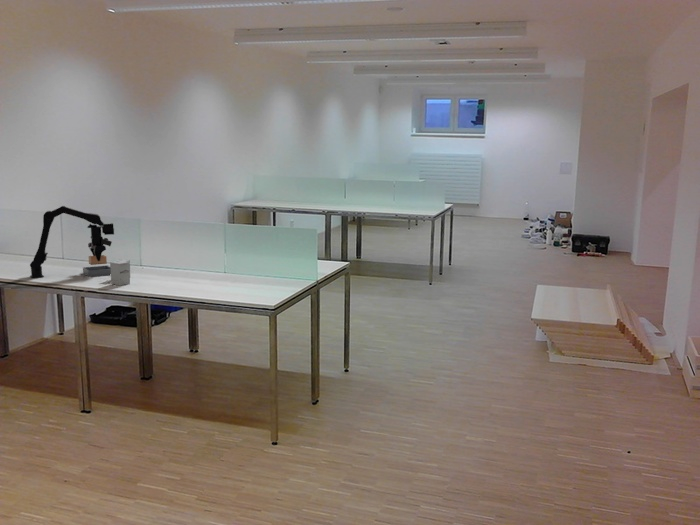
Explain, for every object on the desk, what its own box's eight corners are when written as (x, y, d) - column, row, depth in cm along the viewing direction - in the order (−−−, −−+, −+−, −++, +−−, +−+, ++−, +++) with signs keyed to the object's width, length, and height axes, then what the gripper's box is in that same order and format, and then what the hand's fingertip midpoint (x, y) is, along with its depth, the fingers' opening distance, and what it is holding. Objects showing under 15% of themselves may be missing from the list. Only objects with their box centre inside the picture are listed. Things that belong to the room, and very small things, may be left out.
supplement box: (119, 286, 349) (118, 263, 347) (111, 284, 353) (109, 262, 351) (130, 283, 355) (129, 261, 353) (121, 282, 359) (120, 260, 357)
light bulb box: (121, 281, 363) (120, 262, 361) (110, 280, 364) (109, 262, 362) (131, 277, 373) (130, 259, 371) (120, 277, 374) (119, 259, 373)
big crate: (83, 273, 386) (82, 267, 385) (107, 270, 394) (107, 265, 394) (88, 276, 374) (88, 271, 373) (113, 274, 382) (113, 268, 382)
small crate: (88, 263, 383) (88, 256, 382) (104, 262, 388) (103, 255, 387) (91, 264, 378) (90, 257, 377) (106, 263, 383) (106, 256, 382)
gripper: (114, 235, 377) (115, 261, 380) (106, 232, 392) (107, 257, 395) (94, 237, 371) (95, 263, 373) (87, 233, 386) (88, 258, 388)
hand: (97, 260), depth 383 cm, fingers closed on small crate, 6 cm apart
